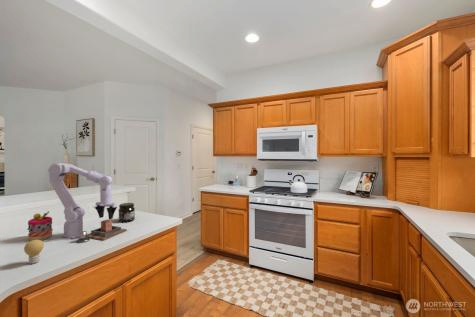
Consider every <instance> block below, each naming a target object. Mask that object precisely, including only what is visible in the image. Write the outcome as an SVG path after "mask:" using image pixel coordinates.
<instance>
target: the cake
mask: <svg viewBox="0 0 475 317" xmlns="http://www.w3.org/2000/svg"><path fill="white" fill-rule="evenodd" d="M49 213H50V211H49V210H48V211H47V212H44V213H43V214H42V215H41V214H40V213H35V214H33V216H32V217H33V218H32V219H29V220H28V222H27V225H28V228H27V230H28V234H27V236H28V242H30V241H32V240H41V241H44V240H47V239H49V238H52V236H53V225H52V224H53V218H52V217H51V216H48V215H49Z"/></svg>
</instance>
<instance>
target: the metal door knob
mask: <svg viewBox="0 0 475 317" xmlns="http://www.w3.org/2000/svg"><path fill="white" fill-rule="evenodd" d="M86 233H87V230H83V231H82V232H80V236H79V238H77V239H76V243H77V244H82V243H86V242H90V239H91V238H89V237H86V235H87V234H86Z"/></svg>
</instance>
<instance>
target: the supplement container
mask: <svg viewBox="0 0 475 317" xmlns="http://www.w3.org/2000/svg"><path fill="white" fill-rule="evenodd" d="M135 209H136V208H135V203H134V202H124V203H120V204H119V205H118V221H119V222H120V223H122V224H123V223H130V222H133V221H134V220H135V219H136V215H135V212H136V211H135Z"/></svg>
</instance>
